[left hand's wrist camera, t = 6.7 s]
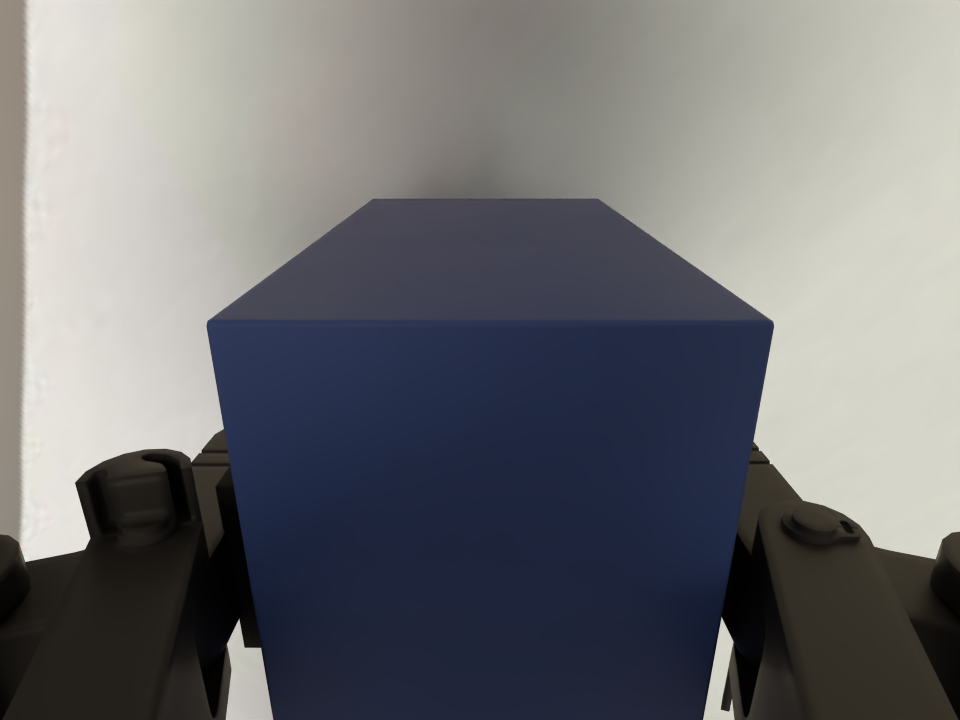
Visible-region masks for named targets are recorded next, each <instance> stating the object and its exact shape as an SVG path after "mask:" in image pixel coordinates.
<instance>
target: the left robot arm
mask: <svg viewBox="0 0 960 720" xmlns="http://www.w3.org/2000/svg"><path fill="white" fill-rule="evenodd" d="M75 484H76V488H77V491H78V495H79V499H80V502H81V506H82V509H83V513H84V516H85V520H86V523H87V527H88V531H89V534H90V538H91V539H90V541H89V543H88V545H87V547H86V549H85V550H82V551H79V552H75V553H70V554H64V555H59V556H54V557H49V558H44V559H39V560H34V561H29V562H25V560H24V557H23V554H22V551H21V548H20V545H19V542H17V541H16V540H15V539H13V538H12V537H10V536H8V535H0V720H226V711H227V703H228V694H229V686H230V677H231V664H230V658H229V653H228V648H227V643H228V641H229V638H230V636H231V634H232V632H233V630H234V628H235V626H236V624H237V622H238V620H239V619H240V624H241V630H242V635H243V641H244V646H245V648H261V643H260V638H259V632H258V626H257V620H256V614H255V608H254V602H253V596H252V590H251V585H250V579H249V573H248V567H247V561H246V555H245V549H244V543H243V537H242V532H241V526H240V520H239V514H238V508H237V502H236V496H235V490H234V484H233V479H232V473H231V467H230V461H229V455H228V449H227V443H226V437H225V431H224V429H223V430H221V431H220V432H218V433H216V434H215V435H214V436H213V437H212V438H211V440H210V441H209V442H208V443H207V444H206V446H205V447H204V448H203V449H202V453H199V454H198V455H197V457H196V458H195V459H194V460H193V461H192V463H191V460H190V458H189V457H188V456H186V455H185V454H183V453H182V452H179V451H174V450H169V449H147V450H141V451H136V452H131V453H126V454H123V455H120V456H117V457H114V458H112V459H109V460H106V461H103V462H102V463H100V464H98V465H96V466H95V467H93V468H91V469H90V470H88V471H86V472H85V473H84V474H83V475H82V476H81V477H80V478H79V479H78V480H77V481H76V482H75ZM722 618H723V621H724V623H725V625H726V627H727V629H728V631H729V633H730V635H731V637H732V639H733V641H734V643H733V648H732V653H731V658H730V663H729V668H728V673H727V678H726V683H725V688H724V693H723V699H722V705H721V710H725V711H729V710H730V705H731V700H732V701H733V710H734V718H735V720H960V532H954V533H951V534H950V535H948V536H947V537H945V538H944V539H942V542H941V545H940V548H939V551H938V554H937V557H936V559H931V558H925V557H920V556H915V555H910V554H905V553H900V552H895V551H889V550H885V549H881V548H877V547H874V546H873V544H872V542H871V540H870V538H869V536H868V535H867V534H866V533H865V531H864V530H863V529H862V528H861V526H860V525H859V524H857V523H856V522H854V521H853V520H851V519H850V518H848V517H847V516H845V515H844V514H842V513H840V512H837V511H835V510H833V509H830V508H828V507H826V506H823V505H819V504H815V503H810V502H806V501H803V500H802V499H801V498H800V497H799V495H798V494H797V493H796V492H795V491H794V490H793V488H792V487H791V486H790V485H789V484H788V482H787V481H786V480H785V479H784V478H783V476H782V475H781V474H780V473H779V472H778V470H777V469H776V468H775V467H774V466H773V464H770V461H769V460H768V458H767V457H766V456H765V455H764V454H763V453H762V451H759V448H758V447H757V445H756V444H755V443H754V442H753V445H752V451H751V456H750V462H749V467H748V473H747V478H746V484H745V490H744V495H743V501H742V506H741V512H740V517H739V523H738V528H737V534H736V539H735V545H734V550H733V556H732V561H731V567H730V573H729V578H728V584H727V589H726V595H725V600H724V606H723V611H722Z"/></svg>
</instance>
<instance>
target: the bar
mask: <svg viewBox="0 0 960 720" xmlns="http://www.w3.org/2000/svg"><path fill="white" fill-rule="evenodd" d="M773 329H774V324H773V321H772V320H770V319H769V318H767V317H766V316H764V315H763V314H762V313H760V312H759V311H757V310H756V309H754V308H753V307H752V306H750V305H749V304H747V303H746V302H744V301H743V300H742V299H740V298H739V297H737V296H736V295H734V294H733V293H732V292H730V291H729V290H727V289H726V288H724V287H723V286H722V285H720V284H719V283H717V282H716V281H714V280H713V279H712V278H710V277H709V276H707V275H706V274H704V273H703V272H702V271H700V270H699V269H697V268H696V267H694V266H693V265H692V264H690V263H689V262H687V261H686V260H684V259H683V258H682V257H680V256H679V255H677V254H676V253H674V252H673V251H672V250H670V249H669V248H667V247H666V246H664V245H663V244H662V243H660V242H659V241H657V240H656V239H654V238H653V237H652V236H650V235H649V234H647V233H646V232H644V231H643V230H642V229H640V228H639V227H637V226H636V225H634V224H633V223H632V222H630V221H629V220H627V219H626V218H624V217H623V216H622V215H620V214H619V213H617V212H616V211H614V210H613V209H612V208H610V207H609V206H607V205H606V204H604V203H603V202H602V201H600V200H599V199H373V200H371V201H370V202H368V203H367V204H366V205H364V206H363V207H362V208H360V209H359V210H358V211H356V212H355V213H354V214H352V215H351V216H349V217H348V218H347V219H345V220H344V221H343V222H341V223H340V224H339V225H337V226H336V227H335V228H333V229H332V230H331V231H329V232H328V233H326V234H325V235H324V236H322V237H321V238H320V239H318V240H317V241H316V242H314V243H313V244H312V245H310V246H309V247H307V248H306V249H305V250H303V251H302V252H301V253H299V254H298V255H297V256H295V257H294V258H293V259H291V260H290V261H289V262H287V263H286V264H284V265H283V266H282V267H280V268H279V269H278V270H276V271H275V272H274V273H272V274H271V275H270V276H268V277H267V278H265V279H264V280H263V281H261V282H260V283H259V284H257V285H256V286H255V287H253V288H252V289H251V290H249V291H248V292H246V293H245V294H244V295H242V296H241V297H240V298H238V299H237V300H236V301H234V302H233V303H232V304H230V305H229V306H228V307H226V308H225V309H223V310H222V311H221V312H219V313H218V314H217V315H215V316H214V317H213V318H211V319H210V320H209V321H208V322H207V331H208V337H209V343H210V349H211V355H212V361H213V367H214V373H215V378H216V384H217V390H218V396H219V402H220V408H221V414H222V420H223V426H224V431H225V437H226V443H227V449H228V455H229V461H230V467H231V473H232V479H233V484H234V490H235V496H236V502H237V508H238V514H239V520H240V526H241V532H242V537H243V543H244V549H245V555H246V561H247V567H248V573H249V579H250V585H251V590H252V596H253V602H254V608H255V614H256V620H257V626H258V632H259V638H260V643H261V649H262V655H263V661H264V667H265V673H266V679H267V685H268V691H269V696H270V702H271V708H272V714H273V720H703V716H704V711H705V705H706V700H707V694H708V689H709V683H710V678H711V672H712V667H713V661H714V656H715V650H716V644H717V639H718V633H719V628H720V622H721V617H722V611H723V606H724V600H725V595H726V589H727V584H728V578H729V573H730V567H731V561H732V556H733V550H734V545H735V539H736V534H737V528H738V523H739V517H740V512H741V506H742V501H743V495H744V490H745V484H746V478H747V473H748V467H749V462H750V456H751V451H752V445H753V440H754V434H755V429H756V423H757V418H758V412H759V407H760V401H761V396H762V390H763V384H764V379H765V373H766V368H767V362H768V357H769V351H770V346H771V340H772V335H773Z"/></svg>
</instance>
